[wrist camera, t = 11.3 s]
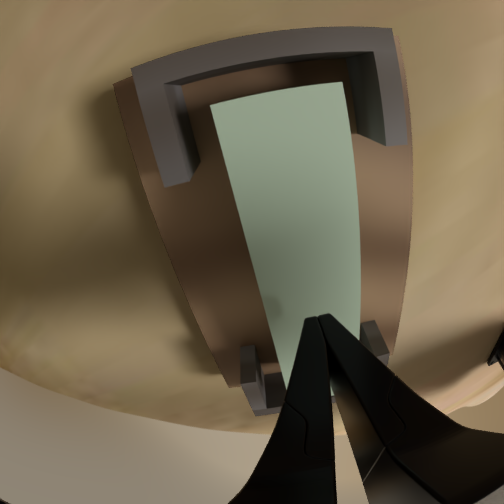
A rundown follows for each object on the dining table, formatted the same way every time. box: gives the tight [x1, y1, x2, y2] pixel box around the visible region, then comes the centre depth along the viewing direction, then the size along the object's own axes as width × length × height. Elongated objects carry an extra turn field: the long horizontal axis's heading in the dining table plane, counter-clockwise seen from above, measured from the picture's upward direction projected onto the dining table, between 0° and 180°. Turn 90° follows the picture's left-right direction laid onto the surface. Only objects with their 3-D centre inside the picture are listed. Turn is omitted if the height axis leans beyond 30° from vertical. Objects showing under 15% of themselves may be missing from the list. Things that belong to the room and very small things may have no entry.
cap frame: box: [113, 27, 413, 416], centre depth 12 cm, size 18×11×4 cm, turn 12°
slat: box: [210, 82, 361, 396], centre depth 11 cm, size 14×4×3 cm, turn 13°
